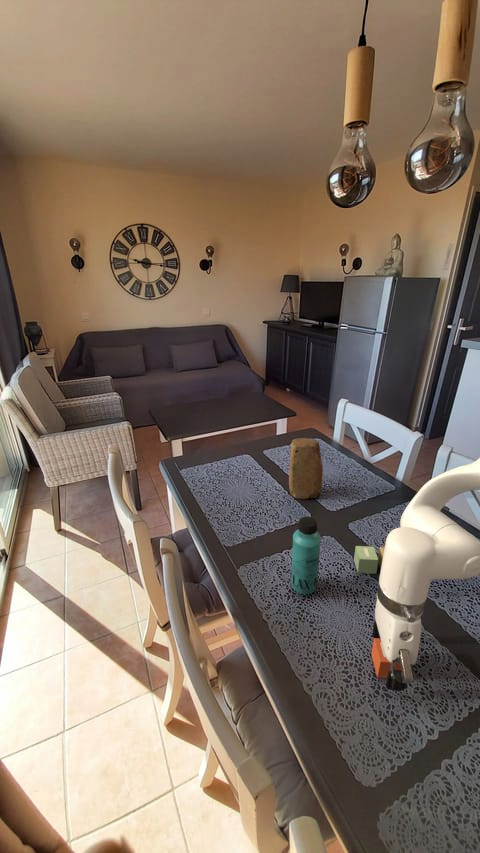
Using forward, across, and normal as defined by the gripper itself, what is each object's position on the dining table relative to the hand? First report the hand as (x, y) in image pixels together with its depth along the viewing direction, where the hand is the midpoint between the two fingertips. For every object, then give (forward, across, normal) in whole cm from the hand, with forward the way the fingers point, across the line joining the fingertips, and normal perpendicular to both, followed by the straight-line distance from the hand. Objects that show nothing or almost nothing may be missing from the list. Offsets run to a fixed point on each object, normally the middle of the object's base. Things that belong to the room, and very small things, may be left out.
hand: (387, 660), depth 68 cm
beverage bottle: (+2, +18, +14) cm, 23 cm away
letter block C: (+2, 0, 0) cm, 2 cm away
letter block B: (+2, +26, -2) cm, 26 cm away
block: (+2, +58, +11) cm, 59 cm away
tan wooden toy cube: (+2, +26, -8) cm, 27 cm away
